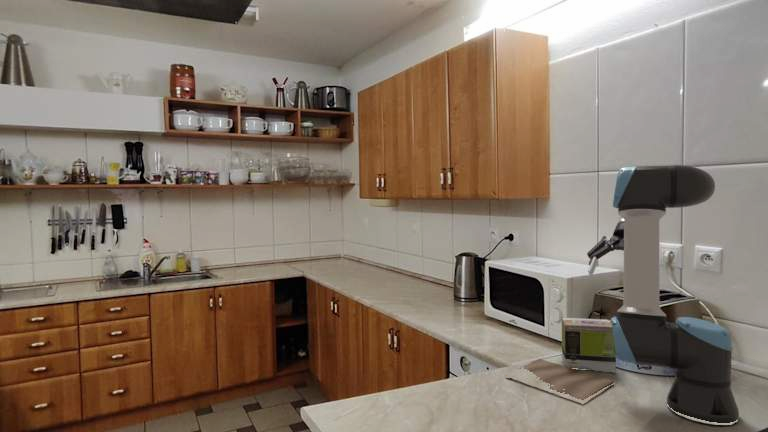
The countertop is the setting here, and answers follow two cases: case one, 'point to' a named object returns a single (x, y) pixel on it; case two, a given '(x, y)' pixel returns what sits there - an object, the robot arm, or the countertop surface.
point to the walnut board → (568, 379)
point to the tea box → (588, 344)
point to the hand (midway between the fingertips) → (608, 275)
